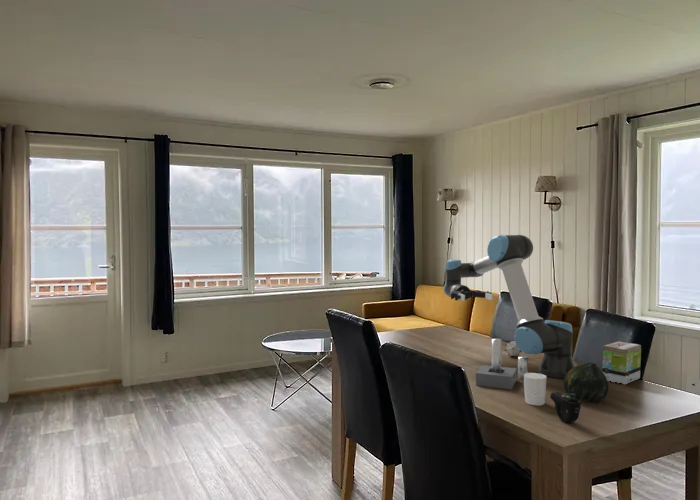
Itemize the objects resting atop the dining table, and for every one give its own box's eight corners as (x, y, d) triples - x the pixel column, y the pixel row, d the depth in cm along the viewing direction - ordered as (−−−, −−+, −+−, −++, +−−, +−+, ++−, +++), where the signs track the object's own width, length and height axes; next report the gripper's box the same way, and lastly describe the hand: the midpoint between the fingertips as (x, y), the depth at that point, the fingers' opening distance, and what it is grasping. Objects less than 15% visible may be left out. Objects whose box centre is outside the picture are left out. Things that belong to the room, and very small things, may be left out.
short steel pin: (528, 377, 227) (528, 356, 226) (527, 379, 223) (527, 358, 223) (518, 376, 228) (518, 355, 228) (517, 378, 225) (517, 357, 224)
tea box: (626, 385, 215) (627, 349, 214) (601, 380, 223) (601, 345, 222) (640, 378, 225) (641, 344, 224) (616, 373, 232) (616, 340, 232)
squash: (556, 377, 207) (567, 354, 197) (595, 379, 207) (608, 356, 196) (565, 410, 197) (577, 388, 187) (606, 412, 197) (620, 390, 186)
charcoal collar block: (516, 380, 222) (516, 368, 222) (511, 389, 210) (511, 376, 210) (482, 376, 228) (482, 364, 228) (475, 385, 216) (476, 373, 215)
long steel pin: (502, 382, 220) (502, 338, 219) (500, 384, 216) (500, 340, 216) (492, 380, 222) (492, 338, 221) (490, 383, 218) (490, 339, 217)
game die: (510, 364, 263) (499, 348, 262) (512, 354, 271) (501, 339, 270) (526, 357, 259) (515, 341, 258) (527, 348, 266) (516, 332, 265)
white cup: (547, 406, 189) (548, 379, 189) (524, 405, 191) (525, 378, 190) (544, 400, 197) (544, 373, 196) (522, 398, 198) (522, 372, 198)
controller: (571, 428, 169) (571, 397, 169) (548, 414, 181) (548, 385, 181) (583, 426, 170) (583, 395, 170) (559, 413, 182) (559, 385, 182)
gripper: (484, 299, 266) (503, 305, 245) (436, 300, 262) (452, 306, 241) (484, 284, 266) (503, 288, 245) (436, 285, 262) (452, 290, 241)
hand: (478, 297), depth 243 cm, fingers open, 13 cm apart
